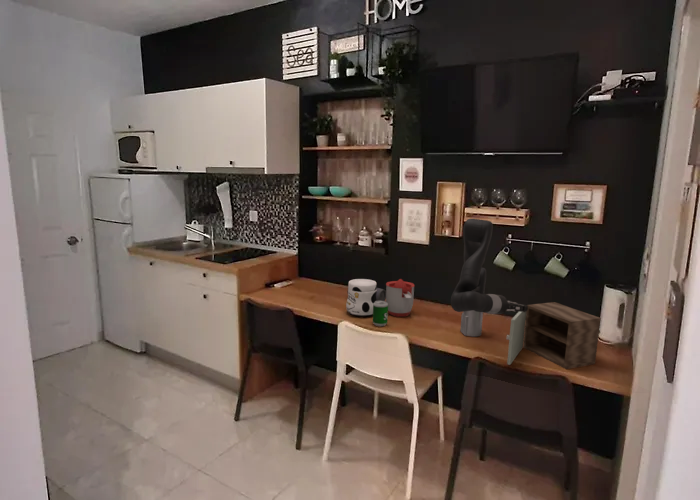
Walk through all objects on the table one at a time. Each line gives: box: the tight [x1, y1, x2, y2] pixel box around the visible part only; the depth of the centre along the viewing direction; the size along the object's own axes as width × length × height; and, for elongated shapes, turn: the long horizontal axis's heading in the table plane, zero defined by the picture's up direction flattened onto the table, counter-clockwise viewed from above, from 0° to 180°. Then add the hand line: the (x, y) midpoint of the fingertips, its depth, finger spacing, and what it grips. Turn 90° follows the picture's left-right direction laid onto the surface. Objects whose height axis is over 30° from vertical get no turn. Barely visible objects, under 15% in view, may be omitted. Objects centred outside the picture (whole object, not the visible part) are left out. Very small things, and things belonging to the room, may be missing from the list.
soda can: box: [372, 300, 389, 327], centre depth 225 cm, size 8×8×12 cm
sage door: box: [505, 311, 527, 366], centre depth 189 cm, size 3×24×19 cm, turn 147°
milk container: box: [345, 278, 378, 317], centre depth 242 cm, size 17×17×18 cm
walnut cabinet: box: [522, 301, 602, 370], centre depth 190 cm, size 16×24×20 cm, turn 21°
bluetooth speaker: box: [347, 287, 386, 301], centre depth 265 cm, size 23×9×10 cm, turn 55°
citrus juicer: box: [385, 278, 416, 318], centre depth 242 cm, size 16×17×20 cm
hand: (517, 306), depth 181 cm, fingers open, 8 cm apart
